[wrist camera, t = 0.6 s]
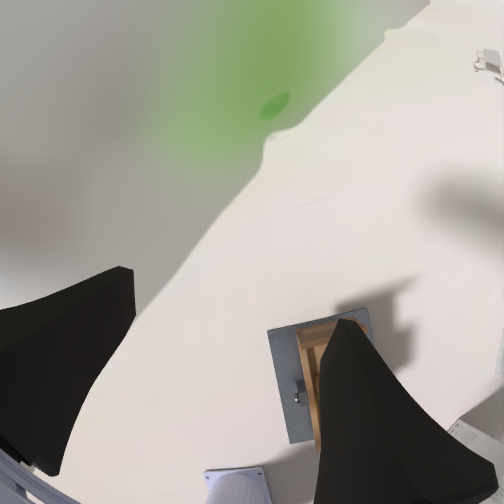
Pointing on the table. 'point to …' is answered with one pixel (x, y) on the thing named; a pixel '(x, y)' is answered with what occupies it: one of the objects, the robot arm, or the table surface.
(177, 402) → the table surface
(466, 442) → the skincare box
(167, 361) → the table surface
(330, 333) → the balance beam
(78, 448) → the table surface
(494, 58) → the origami figure
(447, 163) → the table surface
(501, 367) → the skincare box
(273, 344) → the pivot stand
